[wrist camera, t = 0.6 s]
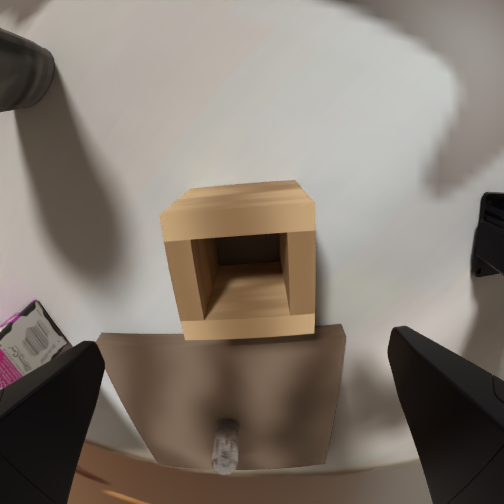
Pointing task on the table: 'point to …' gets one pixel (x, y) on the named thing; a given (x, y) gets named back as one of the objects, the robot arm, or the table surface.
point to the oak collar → (242, 275)
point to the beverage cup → (23, 71)
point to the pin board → (229, 396)
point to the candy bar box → (27, 343)
